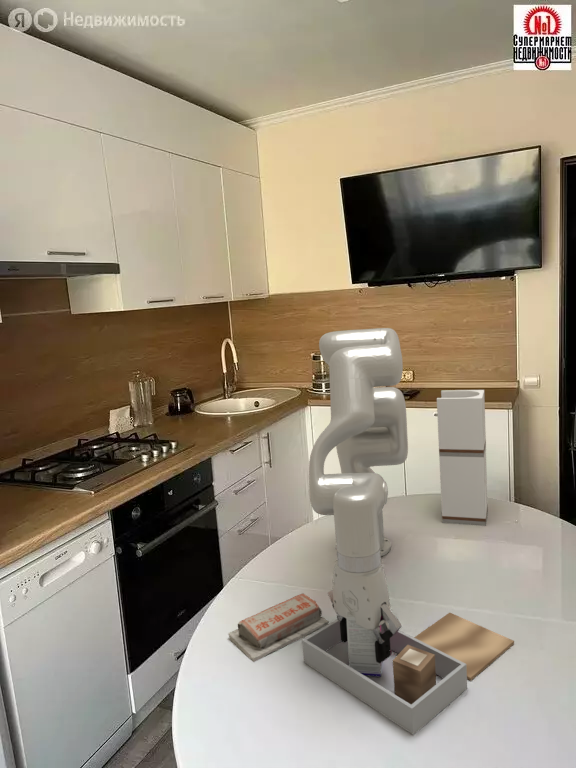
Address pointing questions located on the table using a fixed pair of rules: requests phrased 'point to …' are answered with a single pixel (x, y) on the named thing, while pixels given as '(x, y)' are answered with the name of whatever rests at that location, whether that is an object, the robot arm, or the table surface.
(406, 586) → the table surface
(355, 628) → the supplement box
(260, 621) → the packaged product
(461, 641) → the cork mat
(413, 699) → the walnut block
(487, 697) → the table surface
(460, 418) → the tall striped box
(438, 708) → the grey bin
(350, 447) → the robot arm
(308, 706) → the table surface
